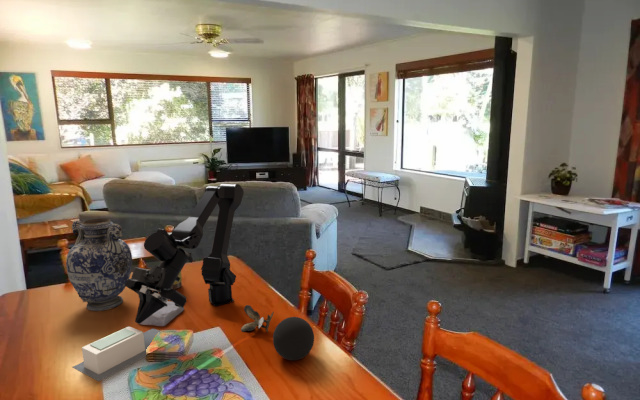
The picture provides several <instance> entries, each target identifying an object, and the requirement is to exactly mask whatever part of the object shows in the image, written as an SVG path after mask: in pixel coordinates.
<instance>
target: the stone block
mask: <svg viewBox="0 0 640 400" xmlns="http://www.w3.org/2000/svg"><path fill="white" fill-rule="evenodd" d="M166 304H167V307H166V306H164V307H163V308H161V309H160V310H158V311H157V312H155V313H154V314H152V315H151V316H150V317H148V318H147V319H145V320H144V321H143V322H141V323H140V324H139V325H144V326H156V327H165V326H166V325H168V324H169V323H170V322H171V321H172V320H174V319H175V318H176V317H177V316H178V315H180V314H181V313H182V312H183V311H184V310H185V306H184V307H183V308H181V307H177V306H175V303H174V302H173V301H167V303H166Z"/></svg>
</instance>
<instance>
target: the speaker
mask: <svg viewBox="0 0 640 400" xmlns="http://www.w3.org/2000/svg"><path fill="white" fill-rule="evenodd" d="M274 328H275V329H274V331H273V336H272V344H273V348H274V349H275V351H276V353H277V354H278V355H279V356H280V357H282V358H283V359H286V360H288V361H299V360H301V359H303V358H304V357H307V355H309V353H310V352H311V351H312V349H313V347H314V344H315V333H314V331H313V327H312V326H311V325H310V324H309V322H308V321H307V320H305V319H303V318H301V317H299V316H290V317H287V318H284V319H283V320H281V321H280V322H279V323H278V324H277V326H276V327H274Z"/></svg>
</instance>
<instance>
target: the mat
mask: <svg viewBox="0 0 640 400" xmlns="http://www.w3.org/2000/svg"><path fill="white" fill-rule="evenodd" d="M160 331H161V330H159V329H156V328H153V327H152V328H151V329H148V330H146V331H145V332H144V331H143V334H144V344H145V351H143V352H141V353H139V354H137V355H135V356H133V357H131V358H129V359H128V360H126V361H124V362H122V363H120V364H118V365H116V366H114V367H112V368H110V369H108V370H106V371H105V372H103V373H101V374H97V373H95V372H93V371H91V370H89V369H87V368H85V367H84V361H82V362H80V363H78V364H76V365H74V366H72V368H73V369H75V370H77V371H78V372H80V373H82V374H84V375H86V376H88V377H90V378H91V379H93V380H95V381H97V382H100V381H102V380H104V379H106V378H108V377H110V376H112V375H113V374H115V373H117V372H119V371H121V370H123V369H125V368H126V367H128V366H130V365H133V364H134V363H135V362H138V361H140V360H141V359H143V358H145V357H147V356H146V349H147V347H148V346H149V345H150V343H151V342H152V340H153V338H154V337H155V335H156V334H157V333H158V332H160Z"/></svg>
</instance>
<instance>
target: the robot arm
mask: <svg viewBox="0 0 640 400" xmlns="http://www.w3.org/2000/svg"><path fill="white" fill-rule="evenodd" d="M244 193H245V192H244V188H243V187H242V186H241V184H239V183H220V185H208V186H207V187H205V189H204V193H203V194H202V196H201V197H200V199H199V201H198V202H197V204H196V205H195V207H194V209H193V210H192V211H191V214H190V215H189V216H188V218H187V219H185V220H183V221H181V222H179V223H178V225H176V226H175V228H174V229H173V230H172V233H171V232H170V233H171V234H168V233H169V232H168V231H167V230H166V229H165V228H158V229H157V230H156V232H154V233H152V234H151V235H149V236H148V237H147V238H146V239H144V243H143V247H144V249H145V251H147V252H148V253H149V254H150V255H151V256H153V257H154V258H155V259H157V260H158V261H160V263H159V265H154V266H153V267H150V269H147V268H142V267H136V266H134V268H133V271H132V275H131V276H130V278H129V279H128V281H127V282H126V284H125V286H126V287H125V288H128V289H129V290H131V291H133V292H134V293H136V294H137V295H138V298H139V303H138V307H137V312H136V316H135V320H134V322H135V323H137V324H138V325H141V324H140V323H141V322H143V321H144V320H145V319H147V318H148V317H150V316H151V315H152V314H154V313H155V312H157V311H158V310H160V309H161V308H163V307H164V306H166V307H167V304H166V303H167V301H168V300H169V301H170V302H174V303H175V306H177V307H181V308H183V307H184V308H185V306H186V303H187V296H185V295H184V294H182V293H181V292H179V290H177V289H171V287H172V285H173V284H174V282H175V281H178V282H179V280H180V278H179V277H178V275H179V273H180V272H181V273H182V270H183V268H184V266H185V265H186V263H187V262H188V263H193V261H194V260H193V257H192V252H189V251H185V250H184V249H189V250H194V249H197V248H198V246H199V245H200V243H201V241H202V239H203V236H204V230H203V229H204V226H205V224H206V223H207V222H208V219H209V217H210V216H211V215H212V213H213V211H214V209H215V208H216V207H217V206H218V213H217V219H216V225H215V230H214V236H213V241H212V246H211V252H210V253H209V255H207V256H204V257H203V259H202V265H201V269H200V270H201V276H202V279H203V281H204V285H205V284H206V285H207V284H208V285H209V288H208V289H207V290H208V291H207V293H208V300H209V302H210V303H211V304H212V305H213V306H214V307H219V306H222V305H226V304H230V303H233V302H235V300H234V298H233V293H232V292H233V291H232V289H233V288H232V286H234V283H236V280H237V279H236V278H237V277H236V274H235V273H234V272H233V271H232V270H231V263H230V259H229V257H228V249H229V245H230V244H229V243H230V238H231V233H232V227H233V223H234V222H233V221H234V215H235V211H237V210H238V208H239V207H240V206H241V204H242V200H243V197H244ZM169 301H168V302H169Z"/></svg>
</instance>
